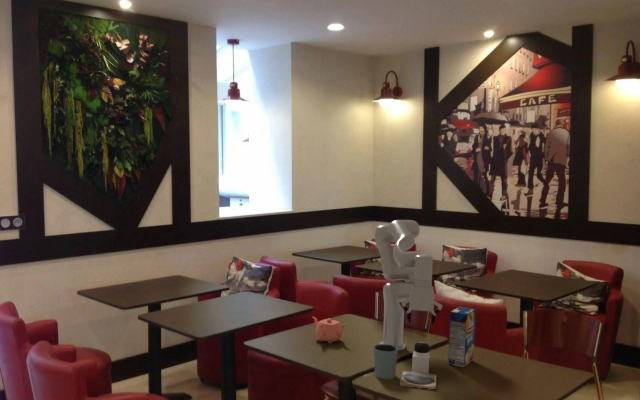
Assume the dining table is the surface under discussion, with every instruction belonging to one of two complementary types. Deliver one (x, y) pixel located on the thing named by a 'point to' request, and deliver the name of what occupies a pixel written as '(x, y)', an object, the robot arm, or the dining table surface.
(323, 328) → the teapot
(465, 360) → the juice carton
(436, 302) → the robot arm
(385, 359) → the blue-grey cup
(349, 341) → the dining table surface
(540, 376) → the dining table surface
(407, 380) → the board
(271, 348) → the dining table surface
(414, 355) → the medicine bottle
